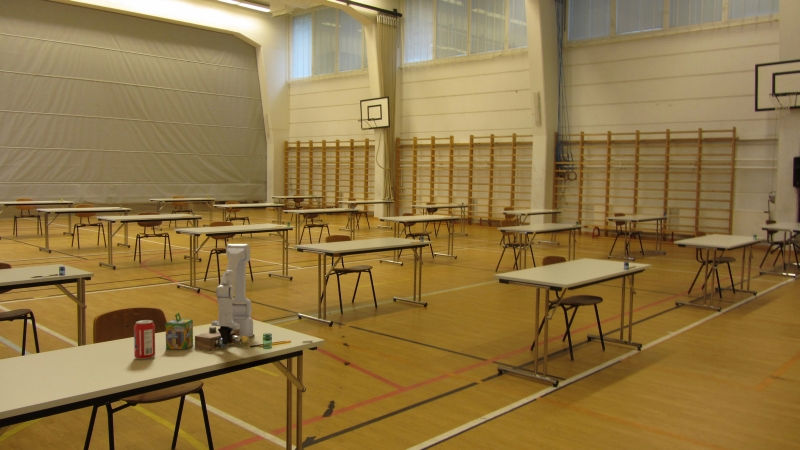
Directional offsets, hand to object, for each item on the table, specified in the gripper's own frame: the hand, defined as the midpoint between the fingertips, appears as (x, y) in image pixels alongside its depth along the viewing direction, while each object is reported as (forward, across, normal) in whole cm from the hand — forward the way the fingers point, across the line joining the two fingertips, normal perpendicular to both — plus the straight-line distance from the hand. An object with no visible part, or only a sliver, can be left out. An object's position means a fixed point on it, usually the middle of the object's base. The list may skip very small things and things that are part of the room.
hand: (225, 343), depth 263 cm
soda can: (+3, -19, -26) cm, 32 cm away
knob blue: (+2, -6, 0) cm, 6 cm away
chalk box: (+3, -20, -7) cm, 21 cm away
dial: (-3, -12, +4) cm, 13 cm away
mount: (+2, -9, +4) cm, 10 cm away
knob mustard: (+2, -1, +8) cm, 8 cm away
